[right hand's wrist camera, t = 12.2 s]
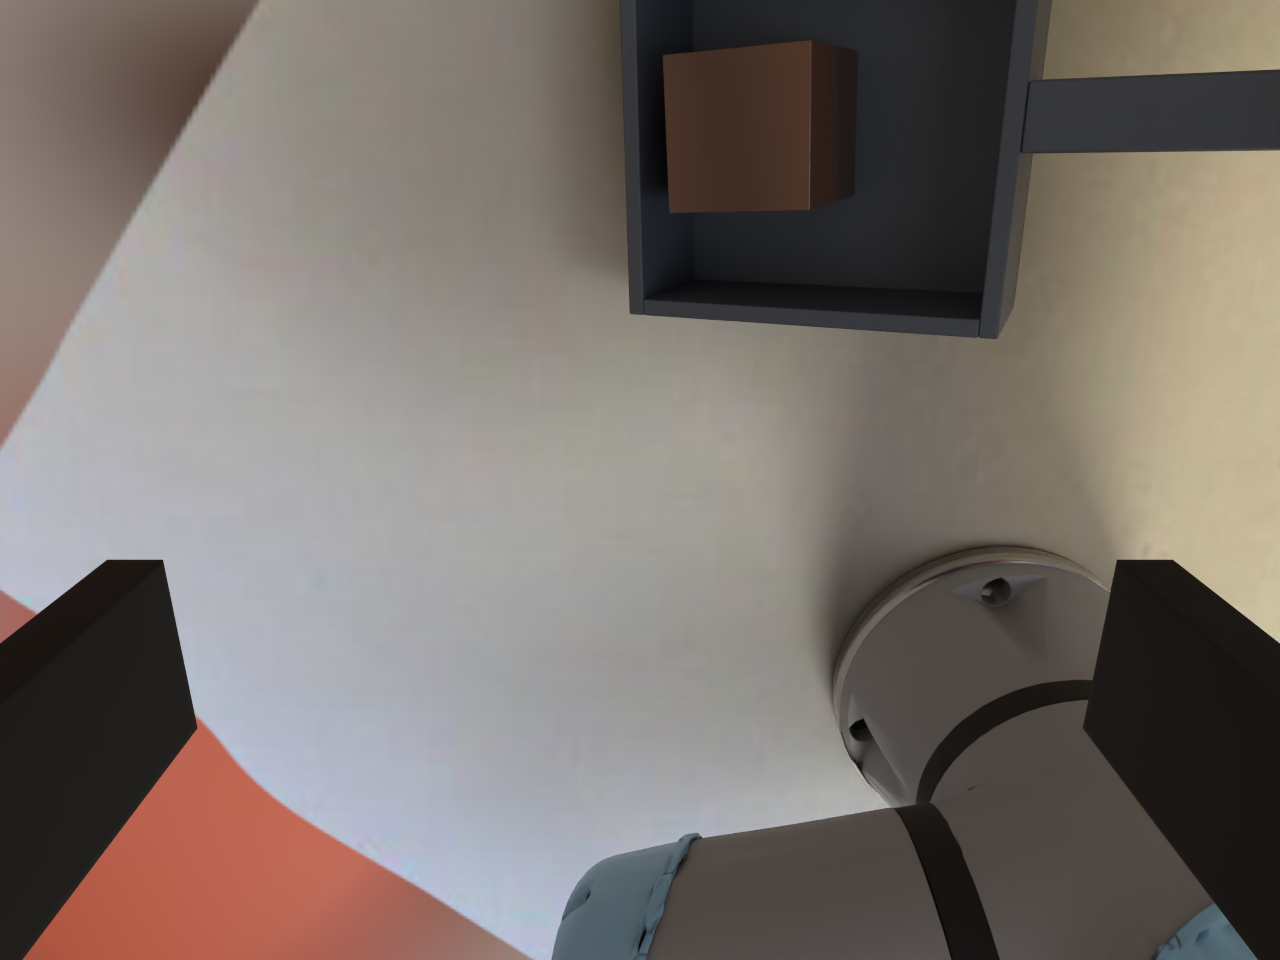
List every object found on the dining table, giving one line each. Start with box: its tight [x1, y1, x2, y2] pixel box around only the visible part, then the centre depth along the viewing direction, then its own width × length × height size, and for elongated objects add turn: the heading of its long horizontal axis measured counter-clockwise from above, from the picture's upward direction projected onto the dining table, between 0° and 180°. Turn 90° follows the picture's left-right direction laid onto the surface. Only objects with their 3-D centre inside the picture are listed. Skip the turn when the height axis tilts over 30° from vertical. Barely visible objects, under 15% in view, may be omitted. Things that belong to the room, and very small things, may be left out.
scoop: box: [620, 0, 1280, 339], centre depth 29 cm, size 27×13×6 cm, turn 92°
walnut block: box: [663, 40, 858, 213], centre depth 32 cm, size 5×5×6 cm
